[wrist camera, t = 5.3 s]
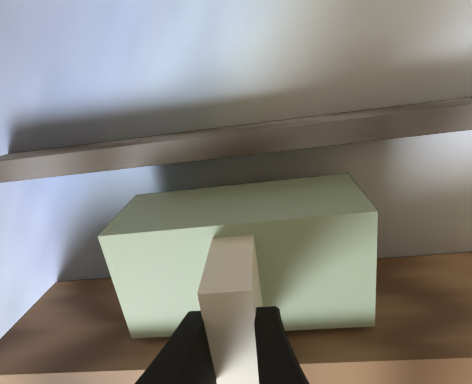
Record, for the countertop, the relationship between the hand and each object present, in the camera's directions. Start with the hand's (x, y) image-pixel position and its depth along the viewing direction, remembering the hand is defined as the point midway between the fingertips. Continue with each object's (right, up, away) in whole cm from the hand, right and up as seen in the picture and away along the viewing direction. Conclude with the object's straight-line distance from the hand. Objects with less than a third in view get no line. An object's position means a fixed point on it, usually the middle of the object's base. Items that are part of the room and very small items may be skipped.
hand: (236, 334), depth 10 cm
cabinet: (0, +3, +6) cm, 6 cm away
